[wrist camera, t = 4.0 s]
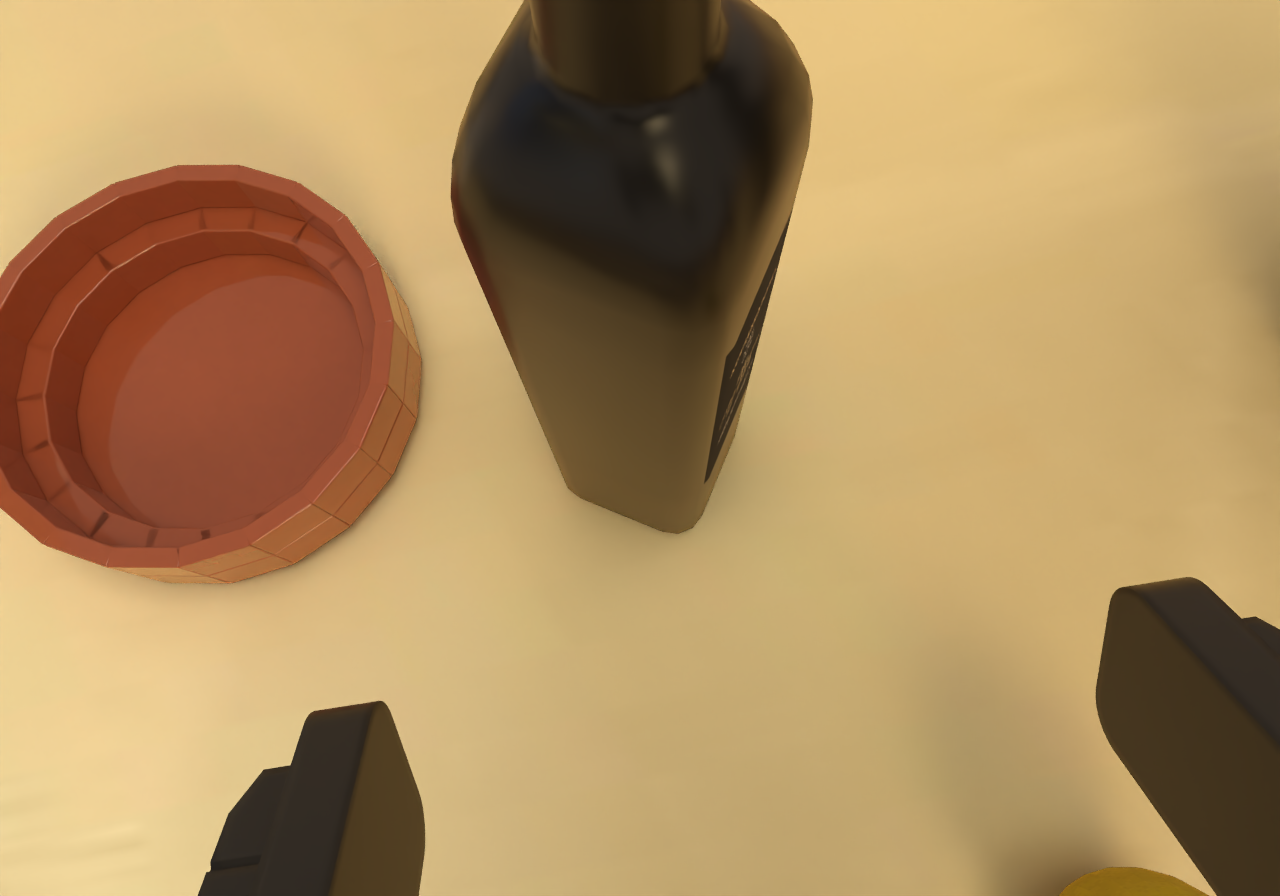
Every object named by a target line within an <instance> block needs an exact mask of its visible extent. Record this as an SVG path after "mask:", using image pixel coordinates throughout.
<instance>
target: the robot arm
mask: <svg viewBox="0 0 1280 896" xmlns="http://www.w3.org/2000/svg"><path fill="white" fill-rule="evenodd" d="M1096 705H1097V711H1098V715H1099V719H1100V723H1101V725H1102V728H1103V731H1104V733H1105V735H1106V738H1107V739H1108V741H1109V743H1110V745H1111V747H1112V748H1113V750H1114V751H1115V753H1116V754H1117V755H1118V757H1119V758H1120V760H1121V761H1122V762H1123V764H1124V765H1125V767H1126V768H1127V770H1128V771H1129V772H1130V774H1131V775H1132V777H1133V778H1134V779H1135V781H1136V782H1137V784H1138V785H1139V786H1140V788H1141V789H1142V791H1143V792H1144V793H1145V795H1146V796H1147V798H1148V799H1149V800H1150V802H1151V803H1152V805H1153V806H1154V808H1155V809H1156V810H1157V812H1158V813H1159V815H1160V816H1161V817H1162V819H1163V820H1164V822H1165V823H1166V824H1167V826H1168V827H1169V829H1170V830H1171V831H1172V833H1173V834H1174V836H1175V837H1176V838H1177V840H1178V841H1179V843H1180V844H1181V846H1182V847H1183V848H1184V850H1185V851H1186V853H1187V854H1188V855H1189V857H1190V858H1191V860H1192V861H1193V862H1194V864H1195V865H1196V867H1197V868H1198V869H1199V871H1200V872H1201V874H1202V875H1203V876H1204V878H1205V879H1206V881H1207V882H1208V884H1209V885H1210V886H1211V888H1212V889H1213V891H1214V892H1215V893H1216V895H1217V896H1280V629H1278V628H1276V627H1274V626H1272V625H1270V624H1268V623H1267V622H1265V621H1263V620H1261V619H1259V618H1257V617H1249V618H1243V619H1241V618H1240V617H1239V616H1238V615H1237V614H1236V613H1235V612H1234V611H1233V610H1232V609H1231V608H1230V607H1229V606H1228V605H1227V604H1226V603H1225V602H1223V601H1222V600H1221V599H1220V598H1219V597H1218V596H1217V595H1216V594H1215V593H1214V592H1213V591H1212V590H1211V589H1210V588H1209V587H1208V586H1206V585H1205V584H1204V583H1203V582H1201V581H1199V580H1198V579H1195V578H1191V577H1185V578H1179V579H1172V580H1166V581H1160V582H1153V583H1147V584H1140V585H1134V586H1128V587H1122V588H1119V589H1117V590H1116V591H1115V592H1114V594H1113V595H1112V598H1111V601H1110V605H1109V611H1108V617H1107V623H1106V629H1105V636H1104V642H1103V648H1102V654H1101V660H1100V667H1099V673H1098V679H1097V685H1096ZM424 852H425V823H424V813H423V807H422V802H421V797H420V794H419V791H418V788H417V785H416V782H415V780H414V777H413V774H412V771H411V768H410V766H409V763H408V760H407V757H406V754H405V751H404V749H403V746H402V743H401V740H400V737H399V735H398V732H397V729H396V726H395V723H394V721H393V718H392V715H391V712H390V710H389V708H388V706H387V705H386V704H385V703H384V702H383V701H376V702H370V703H363V704H357V705H351V706H344V707H338V708H331V709H325V710H319V711H314V712H312V713H310V714H309V716H308V717H307V719H306V721H305V723H304V726H303V729H302V732H301V735H300V738H299V741H298V744H297V747H296V750H295V753H294V757H293V760H292V763H291V766H284V767H278V768H272V769H265V770H263V771H262V773H261V774H260V775H259V776H258V778H257V779H256V780H255V781H254V783H253V784H252V785H251V786H250V788H249V789H248V790H247V791H246V793H245V794H244V795H243V796H242V798H241V799H240V800H239V801H238V803H237V804H236V805H235V806H234V808H233V809H232V810H231V811H230V813H229V814H228V817H227V819H226V822H225V825H224V827H223V830H222V833H221V835H220V838H219V841H218V843H217V846H216V848H215V851H214V854H213V856H212V859H211V862H210V863H211V870H210V872H206V875H205V878H204V880H203V883H202V886H201V888H200V891H199V894H198V896H419V889H420V882H421V875H422V867H423V860H424Z"/></svg>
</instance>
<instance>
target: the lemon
mask: <svg viewBox="0 0 1280 896" xmlns="http://www.w3.org/2000/svg"><path fill="white" fill-rule="evenodd" d="M1059 896H1208V895H1207V894H1205V893H1203V892H1202V891H1200V890H1198V889H1196V888H1194V887H1192V886H1191V885H1189V884H1187V883H1185V882H1183V881H1181V880H1179V879H1177V878H1175V877H1173V876H1170V875H1166V874H1162V873H1158V872H1155V871H1151V870H1147V869H1143V868H1136V867H1111V868H1105V869H1102V870H1099V871H1095V872H1092V873H1088V874H1085V875H1083V876H1082V877H1080V878H1079V879H1077V880H1076V881H1074V882H1073V883H1071V884H1069V885H1068V886H1067V887H1066V888H1065V889H1064V890H1063V892H1062V893H1061V894H1060V895H1059Z"/></svg>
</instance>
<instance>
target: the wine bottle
mask: <svg viewBox="0 0 1280 896" xmlns="http://www.w3.org/2000/svg"><path fill="white" fill-rule="evenodd" d="M812 105H813V97H812V91H811V85H810V79H809V74H808V72H807V70H806V68H805V66H804V64H803V62H802V60H801V58H800V56H799V54H798V52H797V50H796V48H795V46H794V44H793V42H792V41H791V40H790V38H789V37H788V36H787V34H786V33H785V32H784V30H783V29H782V28H781V26H780V25H779V24H778V22H777V21H776V20H775V19H773V18H772V17H771V16H769V15H768V14H767V13H766V12H764V11H763V10H762V9H760V8H759V7H758V6H757V5H755V4H754V3H753V2H751V1H750V0H524V2H523V3H522V5H521V7H520V8H519V10H518V12H517V14H516V15H515V17H514V19H513V20H512V22H511V24H510V26H509V27H508V29H507V31H506V33H505V34H504V36H503V38H502V39H501V41H500V43H499V45H498V46H497V48H496V50H495V51H494V53H493V55H492V57H491V58H490V60H489V62H488V63H487V65H486V67H485V69H484V70H483V72H482V74H481V76H480V77H479V79H478V81H477V82H476V85H475V88H474V90H473V93H472V96H471V98H470V101H469V104H468V106H467V109H466V111H465V114H464V117H463V119H462V122H461V125H460V128H459V133H458V137H457V141H456V146H455V150H454V154H453V159H452V178H451V202H452V209H453V216H454V223H455V225H456V228H457V230H458V233H459V235H460V238H461V240H462V243H463V245H464V248H465V250H466V253H467V255H468V257H469V260H470V262H471V264H472V267H473V269H474V271H475V274H476V276H477V278H478V280H479V283H480V285H481V287H482V290H483V292H484V294H485V297H486V299H487V301H488V304H489V306H490V308H491V311H492V313H493V315H494V318H495V320H496V322H497V325H498V327H499V329H500V332H501V334H502V336H503V338H504V341H505V343H506V345H507V348H508V350H509V352H510V355H511V357H512V359H513V362H514V364H515V366H516V369H517V371H518V373H519V376H520V378H521V380H522V383H523V385H524V387H525V390H526V392H527V394H528V396H529V399H530V401H531V403H532V406H533V408H534V410H535V413H536V415H537V417H538V420H539V422H540V424H541V427H542V429H543V431H544V434H545V436H546V438H547V441H548V443H549V445H550V447H551V450H552V452H553V454H554V457H555V459H556V461H557V464H558V466H559V468H560V471H561V473H562V475H563V478H564V480H565V482H566V485H567V487H568V489H570V490H571V491H572V492H573V493H575V494H576V495H577V496H579V497H580V498H582V499H585V500H587V501H590V502H592V503H594V504H597V505H599V506H602V507H604V508H607V509H609V510H611V511H614V512H616V513H619V514H621V515H624V516H626V517H629V518H631V519H633V520H636V521H638V522H641V523H643V524H646V525H648V526H651V527H653V528H655V529H658V530H660V531H663V532H670V533H681V532H683V531H686V530H688V529H690V528H693V526H694V525H695V524H696V523H697V521H698V520H699V519H700V517H701V516H702V514H703V512H704V509H705V507H706V504H707V502H708V500H709V497H710V495H711V492H712V490H713V487H714V485H715V482H716V480H717V478H718V475H719V473H720V470H721V468H722V465H723V463H724V460H725V458H726V456H727V453H728V451H729V448H730V446H731V443H732V441H733V439H734V436H735V432H736V429H737V425H738V421H739V417H740V413H741V409H742V405H743V401H744V397H745V393H746V389H747V385H748V382H749V378H750V374H751V370H752V366H753V362H754V358H755V354H756V350H757V346H758V342H759V338H760V335H761V331H762V327H763V323H764V319H765V315H766V311H767V307H768V303H769V299H770V295H771V292H772V288H773V284H774V280H775V276H776V272H777V268H778V264H779V260H780V256H781V252H782V248H783V245H784V241H785V237H786V233H787V229H788V225H789V221H790V217H791V213H792V209H793V205H794V201H795V198H796V194H797V190H798V186H799V182H800V178H801V174H802V170H803V166H804V162H805V158H806V155H807V151H808V147H809V138H810V128H811V118H812Z"/></svg>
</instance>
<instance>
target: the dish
mask: <svg viewBox="0 0 1280 896" xmlns="http://www.w3.org/2000/svg"><path fill="white" fill-rule="evenodd" d="M421 363H422V362H421V356H420V352H419V348H418V344H417V341H416V337H415V333H414V329H413V325H412V322H411V318H410V314H409V310H408V308H407V306H406V304H405V302H404V301H403V299H402V298H401V296H400V295H399V293H398V291H397V290H396V288H395V287H394V285H393V284H392V282H391V280H390V279H389V277H388V276H387V274H386V273H385V271H384V269H383V268H382V266H381V265H380V263H379V262H378V260H377V259H376V257H375V256H374V255H373V253H372V252H371V250H370V249H369V247H368V246H367V245H366V243H365V242H364V240H363V239H362V237H361V236H360V235H359V233H358V232H357V230H356V229H355V227H354V226H353V225H352V223H351V222H350V220H349V219H348V217H346V216H345V214H343V213H342V212H340V211H339V210H337V209H336V208H334V207H333V206H332V205H330V204H329V203H327V202H326V201H324V200H323V199H322V198H320V197H319V196H317V195H316V194H314V193H313V192H312V191H310V190H309V189H307V188H306V187H304V186H303V185H302V184H300V183H297V182H296V181H292V180H289V179H285V178H282V177H279V176H275V175H272V174H268V173H265V172H262V171H258V170H255V169H251V168H248V167H245V166H240V165H177V166H173V167H169V168H166V169H162V170H159V171H155V172H151V173H148V174H144V175H141V176H137V177H134V178H130V179H127V180H123V181H119V182H116V183H115V184H111V185H110V186H108V187H106V188H104V189H103V190H101V191H99V192H97V193H96V194H94V195H92V196H91V197H89V198H87V199H85V200H84V201H82V202H80V203H79V204H77V205H75V206H73V207H72V208H70V209H68V210H67V211H65V212H63V213H61V214H60V215H58V216H57V218H56V217H55V218H54V219H53V220H52V221H51V222H50V223H49V224H48V225H47V226H46V227H45V228H44V229H43V230H42V231H41V232H40V233H39V234H38V235H37V236H36V237H35V238H34V239H33V240H32V241H31V242H30V243H29V244H28V245H27V246H26V247H25V248H24V249H22V250H21V251H20V252H19V253H18V254H17V255H16V256H15V257H14V258H13V259H12V260H11V261H10V262H9V265H8V266H7V267H6V269H5V270H4V272H3V274H2V276H1V277H0V508H1V509H2V510H3V511H5V512H6V513H7V514H8V515H9V516H10V517H12V518H13V519H14V520H15V521H16V522H17V523H19V524H20V525H21V526H22V527H23V528H24V529H25V530H27V531H28V532H29V533H30V534H31V535H32V536H34V537H35V538H36V539H37V540H38V541H39V542H41V543H42V544H44V545H46V546H48V547H51V548H53V549H56V550H59V551H62V552H65V553H67V554H70V555H73V556H76V557H79V558H81V559H84V560H87V561H90V562H93V563H96V564H98V565H101V566H104V567H107V568H111V569H115V570H119V571H123V572H127V573H131V574H135V575H138V576H142V577H146V578H150V579H154V580H158V581H162V582H167V583H234V582H237V581H241V580H244V579H247V578H250V577H253V576H257V575H260V574H263V573H266V572H270V571H273V570H276V569H279V568H283V567H286V566H289V565H292V564H294V563H297V562H298V561H300V560H301V559H303V558H304V557H306V556H307V555H309V554H310V553H312V552H313V551H315V550H316V549H318V548H319V547H321V546H322V545H323V544H325V543H326V542H328V541H329V540H331V539H332V538H334V537H335V536H337V535H338V534H340V533H341V532H343V531H344V530H346V529H347V528H349V527H350V525H352V524H353V523H354V521H355V520H356V519H357V518H358V517H359V515H360V514H361V513H362V512H363V511H364V509H365V508H366V507H367V506H368V505H369V503H370V502H371V501H372V500H373V499H374V497H375V496H376V495H377V494H378V493H379V491H380V490H381V489H382V488H383V487H384V485H385V484H386V483H387V482H388V481H389V479H390V478H391V475H393V474H394V471H395V469H396V467H397V464H398V462H399V460H400V457H401V455H402V453H403V450H404V448H405V445H406V443H407V441H408V438H409V436H410V434H411V431H412V429H413V426H414V424H415V422H416V418H417V412H418V399H419V387H420V375H421Z"/></svg>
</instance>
